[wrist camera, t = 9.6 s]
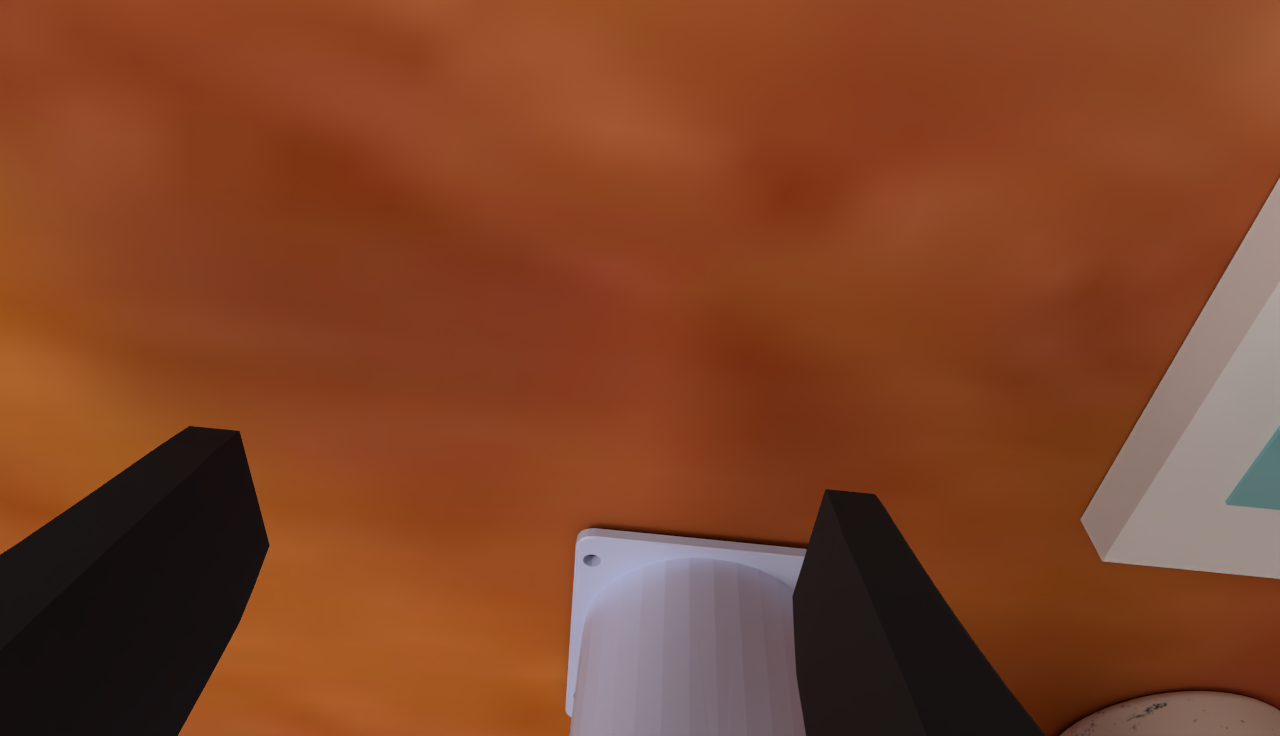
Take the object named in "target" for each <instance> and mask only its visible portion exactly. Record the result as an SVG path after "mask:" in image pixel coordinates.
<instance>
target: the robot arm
mask: <svg viewBox="0 0 1280 736" xmlns="http://www.w3.org/2000/svg"><path fill="white" fill-rule="evenodd" d="M268 548H269V542H268V538H267V534H266V530H265V526H264V523H263V519H262V515H261V511H260V507H259V504H258V500H257V496H256V492H255V488H254V485H253V481H252V477H251V473H250V469H249V466H248V462H247V458H246V454H245V450H244V447H243V443H242V439H241V435H240V431H234V430H224V429H214V428H204V427H193V426H189V427H187V428H186V429H184V430H183V431H181V432H180V433H178V434H177V435H175V436H174V437H172V438H170V439H169V440H167V441H166V442H165V443H163V444H162V445H160V446H159V447H157V448H156V449H154V450H153V451H151V452H150V453H148V454H147V455H146V456H144V457H143V458H141V459H140V460H138V461H137V462H135V463H134V464H133V465H131V466H130V467H128V468H127V469H125V470H124V471H123V472H121V473H120V474H118V475H117V476H115V477H114V478H113V479H111V480H110V481H108V482H107V483H105V484H104V485H102V486H101V487H100V488H98V489H97V490H95V491H94V492H92V493H91V494H90V495H88V496H87V497H85V498H84V499H82V500H81V501H79V502H78V503H76V504H75V505H74V506H72V507H71V508H69V509H68V510H66V511H65V512H63V513H62V514H60V515H59V516H57V517H56V518H54V519H53V520H52V521H50V522H49V523H47V524H46V525H44V526H43V527H41V528H40V529H38V530H37V531H35V532H34V533H32V534H31V535H30V536H28V537H27V538H25V539H24V540H22V541H21V542H19V543H18V544H16V545H15V546H13V547H12V548H10V549H9V550H7V551H6V552H4V553H2V554H1V555H0V736H178V734H179V732H180V730H181V729H182V727H183V725H184V723H185V721H186V720H187V718H188V716H189V714H190V712H191V710H192V709H193V707H194V705H195V703H196V701H197V700H198V698H199V696H200V694H201V692H202V691H203V689H204V687H205V685H206V683H207V682H208V680H209V678H210V676H211V674H212V672H213V670H214V669H215V667H216V665H217V663H218V661H219V659H220V658H221V656H222V654H223V652H224V650H225V648H226V646H227V645H228V643H229V641H230V639H231V637H232V635H233V633H234V631H235V630H236V628H237V626H238V624H239V622H240V620H241V617H242V615H243V612H244V610H245V607H246V605H247V603H248V600H249V598H250V595H251V593H252V590H253V588H254V585H255V583H256V580H257V577H258V575H259V572H260V569H261V567H262V564H263V561H264V559H265V556H266V553H267V551H268ZM592 554H593V555H596V556H590V555H592ZM566 713H567V714H568V715H569V716H570V717H572V720H571V728H570V736H1045V734H1044V733H1043V732H1042V731H1041V729H1040V728H1039V727H1038V726H1037V724H1036V723H1035V722H1034V720H1033V719H1032V718H1031V717H1030V715H1029V714H1028V713H1027V712H1026V710H1025V709H1024V708H1023V706H1022V705H1021V704H1020V703H1019V701H1018V700H1017V699H1016V697H1015V696H1014V695H1013V694H1012V692H1011V691H1010V690H1009V689H1008V687H1007V686H1006V685H1005V683H1004V682H1003V681H1002V679H1001V678H1000V677H999V675H998V674H997V673H996V671H995V670H994V669H993V667H992V666H991V664H990V663H989V662H988V660H987V659H986V658H985V656H984V655H983V653H982V652H981V651H980V649H979V648H978V646H977V645H976V644H975V642H974V641H973V639H972V638H971V637H970V635H969V634H968V632H967V631H966V630H965V628H964V627H963V625H962V624H961V623H960V621H959V620H958V618H957V617H956V616H955V614H954V613H953V611H952V610H951V608H950V607H949V606H948V604H947V603H946V601H945V600H944V598H943V597H942V595H941V594H940V592H939V591H938V589H937V588H936V586H935V585H934V583H933V582H932V580H931V579H930V577H929V576H928V574H927V573H926V571H925V570H924V568H923V567H922V565H921V564H920V562H919V561H918V559H917V558H916V556H915V554H914V553H913V551H912V550H911V548H910V547H909V545H908V544H907V542H906V541H905V539H904V537H903V536H902V534H901V533H900V531H899V530H898V528H897V526H896V525H895V523H894V522H893V520H892V519H891V517H890V515H889V514H888V512H887V511H886V509H885V508H884V506H883V504H882V503H881V501H880V500H879V499H878V498H877V496H876V495H875V494H867V493H857V492H847V491H837V490H827V489H826V490H825V493H824V496H823V499H822V503H821V506H820V509H819V512H818V515H817V519H816V522H815V525H814V528H813V532H812V535H811V538H810V541H809V544H808V548H807V549H801V548H791V547H781V546H771V545H761V544H751V543H741V542H730V541H720V540H710V539H700V538H690V537H680V536H669V535H659V534H649V533H639V532H629V531H619V530H609V529H598V528H588V529H586V530H583V531H581V532H580V533H579V534H578V537H577V542H576V552H575V568H574V584H573V599H572V615H571V631H570V647H569V663H568V678H567V694H566Z"/></svg>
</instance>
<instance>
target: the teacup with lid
mask: <svg viewBox="0 0 1280 736" xmlns="http://www.w3.org/2000/svg"><path fill="white" fill-rule="evenodd" d="M1059 736H1280V710H1278V709H1276V708H1275V707H1273V706H1271V705H1269V704H1267V703H1264V702H1262V701H1259V700H1256V699H1254V698H1250V697H1246V696H1242V695H1237V694H1232V693H1224V692H1214V691H1181V692H1170V693H1162V694H1156V695H1150V696H1145V697H1140V698H1136V699H1132V700H1128V701H1125V702H1122V703H1119V704H1115V705H1113V706H1110V707H1107V708H1105V709H1102V710H1100V711H1098V712H1095V713H1093V714H1091V715H1089V716H1087V717H1085V718H1083V719H1082V720H1080V721H1078V722H1077V723H1075V724H1074V725H1072V726H1071V727H1069V728H1068V729H1067V730H1065V731H1064V732H1063V733H1062V734H1061V735H1059Z"/></svg>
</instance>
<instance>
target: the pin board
mask: <svg viewBox="0 0 1280 736" xmlns="http://www.w3.org/2000/svg"><path fill="white" fill-rule="evenodd" d="M1080 520H1081V522H1082V524H1083V526H1084V528H1085V530H1086V532H1087V533H1088V535H1089V537H1090V539H1091V541H1092V543H1093V545H1094V547H1095V549H1096V550H1097V552H1098V554H1099V556H1100V558H1101V560H1102V561H1104V562H1114V563H1125V564H1135V565H1145V566H1155V567H1165V568H1175V569H1185V570H1195V571H1206V572H1216V573H1226V574H1236V575H1246V576H1256V577H1266V578H1277V579H1280V178H1279V180H1278V182H1277V183H1276V185H1275V187H1274V189H1273V190H1272V192H1271V194H1270V195H1269V197H1268V199H1267V201H1266V202H1265V204H1264V206H1263V207H1262V209H1261V211H1260V213H1259V214H1258V216H1257V218H1256V219H1255V221H1254V223H1253V225H1252V226H1251V228H1250V230H1249V231H1248V233H1247V235H1246V237H1245V238H1244V240H1243V242H1242V243H1241V245H1240V247H1239V249H1238V250H1237V252H1236V254H1235V255H1234V257H1233V259H1232V261H1231V262H1230V264H1229V266H1228V267H1227V269H1226V271H1225V273H1224V274H1223V276H1222V278H1221V279H1220V281H1219V283H1218V285H1217V286H1216V288H1215V290H1214V291H1213V293H1212V295H1211V297H1210V298H1209V300H1208V302H1207V303H1206V305H1205V307H1204V308H1203V310H1202V312H1201V314H1200V315H1199V317H1198V319H1197V320H1196V322H1195V324H1194V326H1193V327H1192V329H1191V331H1190V332H1189V334H1188V336H1187V338H1186V339H1185V341H1184V343H1183V344H1182V346H1181V348H1180V350H1179V351H1178V353H1177V355H1176V356H1175V358H1174V360H1173V362H1172V363H1171V365H1170V367H1169V368H1168V370H1167V372H1166V374H1165V375H1164V377H1163V379H1162V380H1161V382H1160V384H1159V386H1158V387H1157V389H1156V391H1155V392H1154V394H1153V396H1152V398H1151V399H1150V401H1149V403H1148V404H1147V406H1146V408H1145V410H1144V411H1143V413H1142V415H1141V416H1140V418H1139V420H1138V422H1137V423H1136V425H1135V427H1134V428H1133V430H1132V432H1131V433H1130V435H1129V437H1128V439H1127V440H1126V442H1125V444H1124V445H1123V447H1122V449H1121V451H1120V452H1119V454H1118V456H1117V457H1116V459H1115V461H1114V463H1113V464H1112V466H1111V468H1110V469H1109V471H1108V473H1107V475H1106V476H1105V478H1104V480H1103V481H1102V483H1101V485H1100V487H1099V488H1098V490H1097V492H1096V493H1095V495H1094V497H1093V499H1092V500H1091V502H1090V504H1089V505H1088V507H1087V509H1086V511H1085V512H1084V514H1083V516H1082V517H1081V519H1080Z"/></svg>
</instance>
